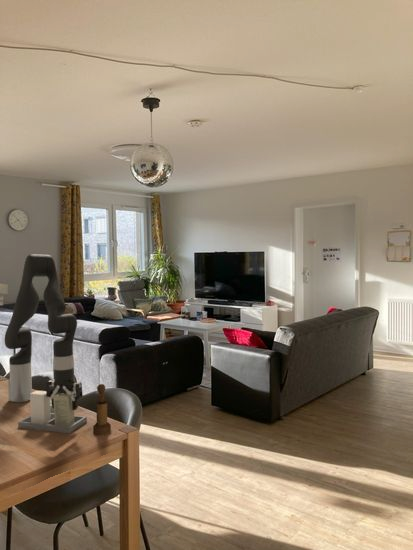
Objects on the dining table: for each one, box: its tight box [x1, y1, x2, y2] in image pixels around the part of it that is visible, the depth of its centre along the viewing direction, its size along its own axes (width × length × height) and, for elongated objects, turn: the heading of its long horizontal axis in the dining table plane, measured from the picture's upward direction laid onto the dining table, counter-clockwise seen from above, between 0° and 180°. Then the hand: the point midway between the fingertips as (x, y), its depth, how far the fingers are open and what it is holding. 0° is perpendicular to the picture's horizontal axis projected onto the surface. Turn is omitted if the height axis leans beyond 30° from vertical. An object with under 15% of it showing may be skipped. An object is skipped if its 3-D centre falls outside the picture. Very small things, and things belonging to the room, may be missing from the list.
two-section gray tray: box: [17, 413, 88, 434], centre depth 175 cm, size 22×12×4 cm, turn 74°
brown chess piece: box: [92, 383, 112, 436], centre depth 171 cm, size 7×6×18 cm
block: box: [29, 390, 51, 424], centre depth 177 cm, size 6×4×12 cm, turn 74°
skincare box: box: [53, 393, 75, 427], centre depth 174 cm, size 6×4×12 cm
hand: (64, 408), depth 173 cm, fingers open, 8 cm apart
